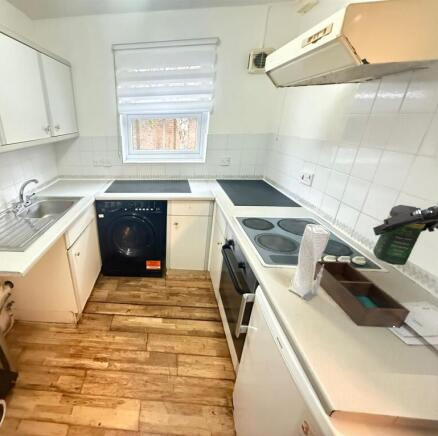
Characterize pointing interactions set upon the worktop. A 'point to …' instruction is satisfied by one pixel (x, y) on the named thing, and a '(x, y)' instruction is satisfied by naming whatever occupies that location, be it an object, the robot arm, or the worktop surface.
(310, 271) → the skyscraper
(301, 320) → the worktop surface
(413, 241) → the coffee jar
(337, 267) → the organiser
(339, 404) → the worktop surface
